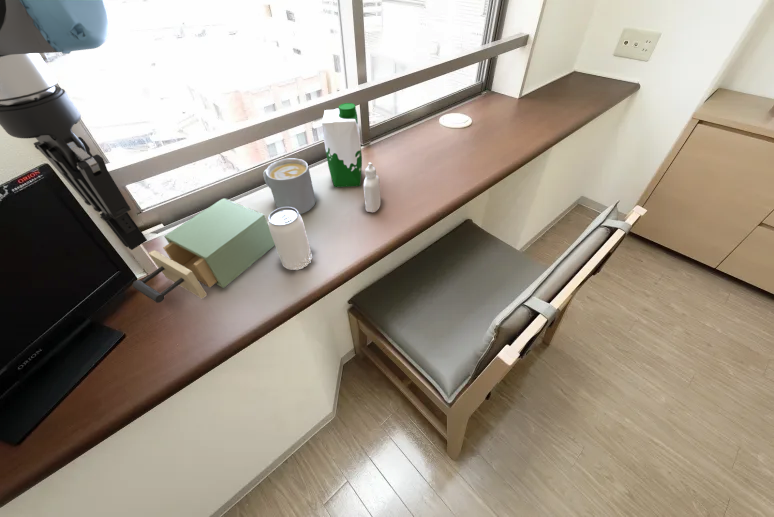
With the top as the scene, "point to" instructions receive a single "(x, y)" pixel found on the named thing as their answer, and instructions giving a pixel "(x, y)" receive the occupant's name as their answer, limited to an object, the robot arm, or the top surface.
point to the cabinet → (225, 238)
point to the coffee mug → (291, 184)
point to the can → (290, 238)
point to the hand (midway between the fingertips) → (136, 242)
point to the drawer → (178, 272)
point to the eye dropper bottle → (372, 189)
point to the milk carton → (343, 145)
